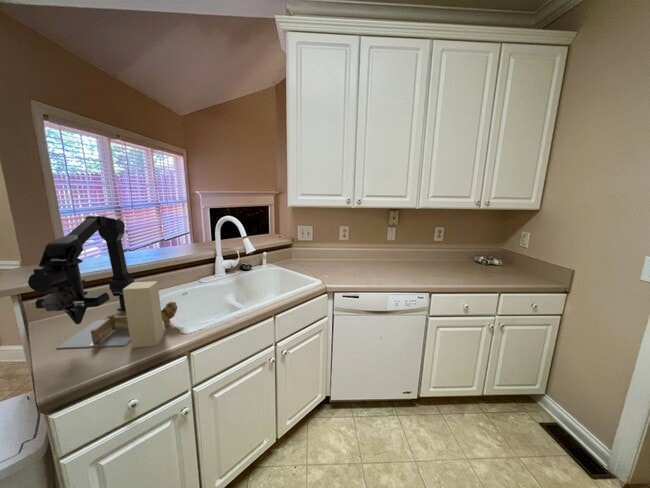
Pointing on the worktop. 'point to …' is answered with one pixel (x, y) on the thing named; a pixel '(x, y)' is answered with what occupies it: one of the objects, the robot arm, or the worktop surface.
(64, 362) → the worktop surface
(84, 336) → the board
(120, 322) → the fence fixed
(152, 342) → the toy refrigerator
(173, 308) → the lion figurine
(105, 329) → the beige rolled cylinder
